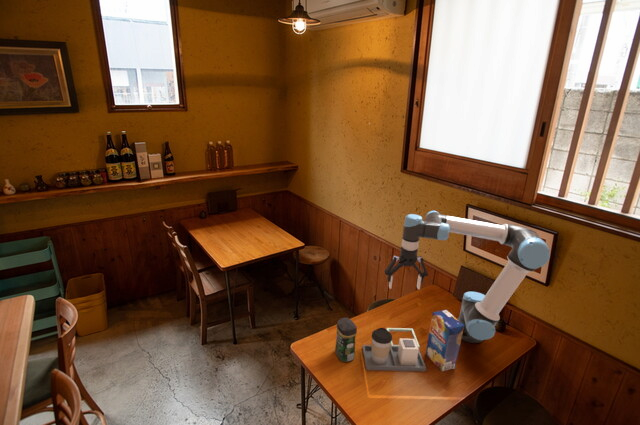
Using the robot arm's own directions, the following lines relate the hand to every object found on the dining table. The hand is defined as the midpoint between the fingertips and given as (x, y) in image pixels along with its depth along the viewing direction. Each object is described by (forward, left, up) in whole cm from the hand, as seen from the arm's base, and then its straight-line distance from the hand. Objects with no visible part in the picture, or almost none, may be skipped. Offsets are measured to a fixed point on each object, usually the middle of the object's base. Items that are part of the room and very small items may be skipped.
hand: (404, 287), depth 169 cm
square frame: (-2, +2, -29) cm, 29 cm away
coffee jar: (+28, +14, -29) cm, 43 cm away
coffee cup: (+12, +17, -28) cm, 35 cm away
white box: (0, +17, -28) cm, 33 cm away
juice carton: (-16, +17, -29) cm, 37 cm away
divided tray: (+6, +17, -29) cm, 34 cm away
